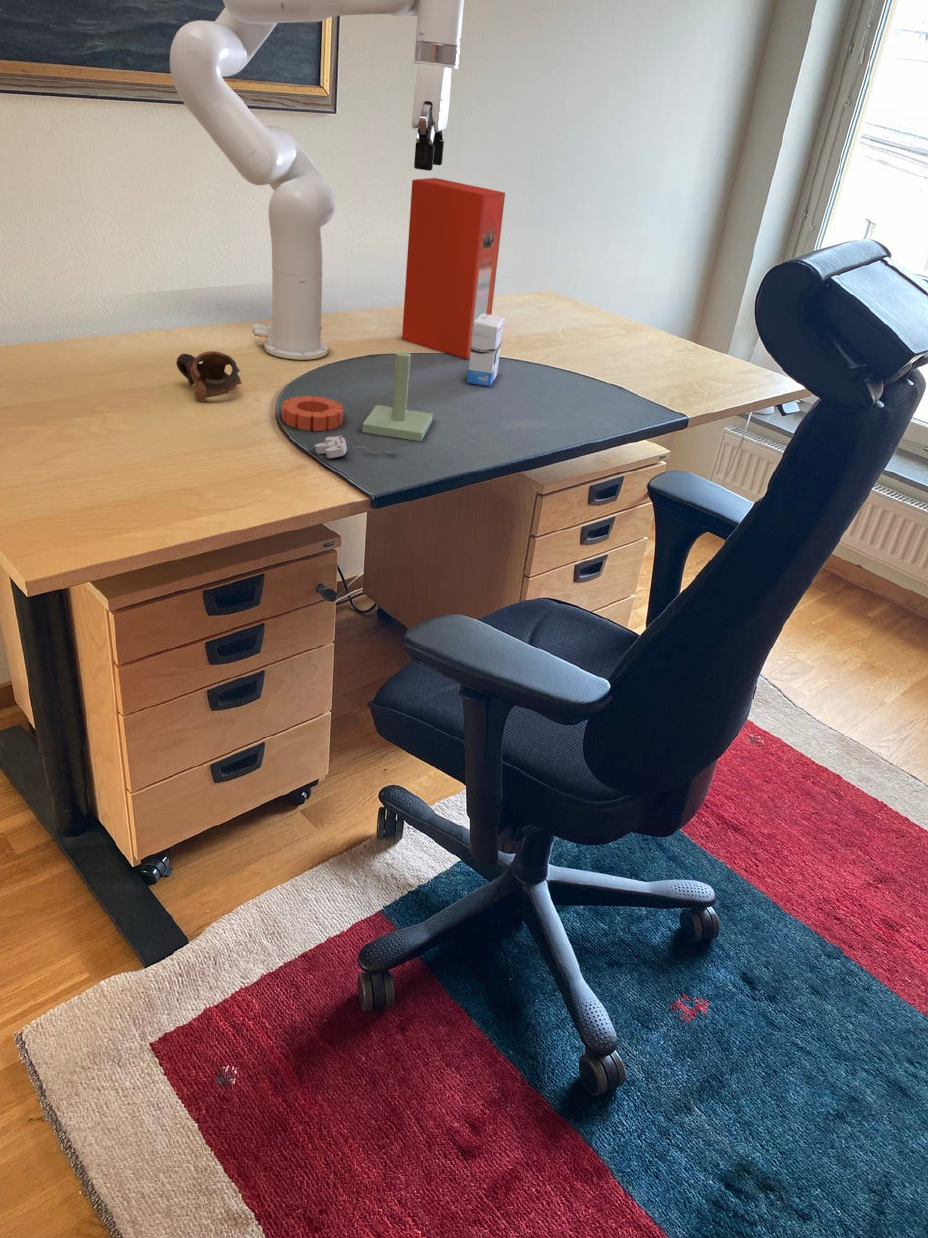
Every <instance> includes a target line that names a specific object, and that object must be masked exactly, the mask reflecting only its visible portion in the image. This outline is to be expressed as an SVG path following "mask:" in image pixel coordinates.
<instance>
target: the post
mask: <svg viewBox="0 0 928 1238" xmlns="http://www.w3.org/2000/svg"><path fill="white" fill-rule="evenodd" d="M410 367H411V353H410V352H408V351H396V352H395V359H394V371H393V372H394V373H393V390H392V403H391V406H386V405H381V404H380V405H379V404H376V405H375V406H374V407H373V409H372V410H371V412H370V413H369V414H368V416H367V417H366V419H365V420H364V421H363V423H362V425H361V426H362V427H361V428H362V429H361V432H362V433H366V434H370V435H378V436H384V437H390V438H397V439H402V440H410V441H416V442H422V441H423V439H424V437H425V435H426V433H427V431H428V430H429V428H430V427H431V424H432V422H433V413H432V412H424V411H418V410H411V409H407V405H408V404H407V403H408V393H409V382H410V379H409V378H410Z"/></svg>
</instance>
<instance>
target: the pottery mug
mask: <svg viewBox="0 0 928 1238" xmlns="http://www.w3.org/2000/svg"><path fill="white" fill-rule="evenodd" d="M175 364H176V368H177V369H178V370H179V372H180V373H181V375H183V377H184V378H186V379H187V381H188V384H189V386H193V385H195V386H196V388H195V392H194V396H195V398H196V399H197V400H199V401H200V402H204V401H205V400H206V398H214V397H217V396H222V395H227V394H229V393H230V391H233V390H235V388H236V387H237V386H238V385H242V384H243V382H242V379H241V377H240V376H239V372H241V370H240V368H239V367H238V366H237V363H236V361H235V360H234V359H233V358H232V357H231V356H229V355H228V354H226V353H223V352H220V351H214V350H210V351H209V350H208V351H203V352H202V353H200V354H197V356H196V357H195V356H193V355H192V354H189V353H181V354H180V355H179V356H178V357H176V362H175ZM229 365H230V367H231V372H230V374H229V373H227V372H226V371H225V370H226V366H229Z"/></svg>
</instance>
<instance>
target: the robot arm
mask: <svg viewBox="0 0 928 1238" xmlns="http://www.w3.org/2000/svg"><path fill="white" fill-rule="evenodd" d="M222 2H223V5H224V6H225V7H224V8H223V10H222V11H221V12H220V14H219V15H218V17H216V19H215V21H213V20H204V19H203V20H199V19H198V20H194V21H190V22H187V23H186V24H184V25H182V26H181V27H180V28H179V29H178V30H177V31H176V33H175V35H174V37H173V38H172V39H173V40H172V43H171V46H170V52H169V69H170V75H171V79H172V82H173V86H174V88H175V90H176V92H177V94H178V96H179V98H180V99H181V101H182V102H183V104H184V106H185V107H186V108H187V109H188V111H189V112H190V113H191V114H192V116H193V117H194V118H195V119H196V121H197V122H198V123H199V124H200V126H201V127H202V128H203V129H204V130H205V131H206V133H207V134H208V135H209V136H210V138H211V139H212V141H213V142H214V144H215V145H217V147H218V148H219V149H220V151H221V152H222V153H223V154H224V156H225V157H226V158H227V159H228V161H229V162H230V163H231V164H232V165H233V167H234V168H235V170H236V171H237V172H238V173H239V174H240V176H241V177H242V178H243V179H244V180H246V182H248V183H250V184H252V185H253V186H266V185H269V186H270V188H271V190H273V193H272V195H271V197H270V200H269V204H268V222H269V223H268V224H269V232H270V240H271V270H272V271H271V272H272V273H271V275H272V276H271V280H272V281H271V284H272V285H271V286H272V287H271V289H272V293H271V296H272V297H271V299H272V301H271V303H272V304H271V305H272V306H271V307H272V309H271V311H272V312H271V314H272V316H271V318H272V319H271V320H272V321H271V322H272V323H271V324H268V325H264V324H261V323H253V324H252V334H254V337H260V338H261V337H262V338H265V339H266V340H265V342H264V344H263V349H264V351H265V352H266V353H268V354H269V355H272V356H274V357H277V358H281V359H286V360H287V359H288V360H298V361H307V360H317V359H320V358H323V357H324V358H325V356H326V355H328V353H329V346H328V345H327V344H326V343H325V342H323V341H321V340H322V339H321V338H322V337H321V335H322V301H323V300H322V298H323V297H322V296H323V245H322V236H321V235H322V234H321V228H322V227H323V226H325V225H326V224H328V223H329V222H330V221H331V220H332V218H333V217H334V214H335V212H336V208H337V199H336V196H335V193H334V190H333V187H332V186H331V185H330V183H329V181H328V180H327V179H326V178H325V176H324V175H323V173H322V172H321V171H320V170H319V168H318V167H317V166H316V164H315V163H314V162H313V161H312V159H311V158H310V157H309V156H308V155H307V153H306V152H305V150H304V149H303V148H302V147H301V146H300V144H299V143H298V141H296V139H295V138H294V137H293V136H292V135H290V134H289V132H287V131H286V130H284V129H283V128H280V127H278V126H275V125H263V124H262V123H261V122H260V120H259V119H258V118H257V117H256V116H255V115H254V114H253V112H252V111H251V110H250V109H249V107H248V106H247V105H246V103H245V102H244V101H243V99H242V98H241V97H240V96H239V95H238V93H236V92H235V91H234V90H233V89H232V88H231V87H230V86H229V85H228V84H227V83H226V81H225V79H224V78H227V77H231V76H234V75H236V74H238V73H240V72H241V71H243V69H244V68H245V67H246V66H247V65H248V63H249V62H250V61H251V60H252V58H253V57H254V55H255V54H256V53H257V52H258V50H259V49H260V48H261V47H262V45H263V44H264V42H265V41H266V40H267V38H268V37H270V35H271V33H272V32H273V30H274V29H275V28H276V26H277V25H278V24H282V23H283V24H285V23H287V24H288V23H318V22H323V21H326V20H328V19H330V18H333V17H341V16H357V15H358V16H363V15H366V16H367V15H391V16H395V17H417V20H416V32H415V33H416V34H415V45H414V47H415V48H414V60H413V61H414V62H413V64H417V65H418V67H417V73H416V78H415V88H414V97H413V105H412V114H411V115H412V116H411V128H412V129H413V130H417V134H416V140H415V146H414V147H415V148H414V149H415V150H414V151H415V152H414V164H413V167H414V169H415V170H421V171H428V172H430V171H431V172H432V170H433V167H434V166H442V164H443V158H444V146H445V145H444V144H445V140H444V139H445V129H447V126H448V119H449V111H450V103H451V102H450V99H451V89H452V88H451V86H452V71H453V70H452V69H455V70H456V69H459V65H460V64H459V63H460V53H461V52H460V51H461V42H462V30H463V29H462V28H463V17H464V8H465V6H464V5H465V0H222Z"/></svg>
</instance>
